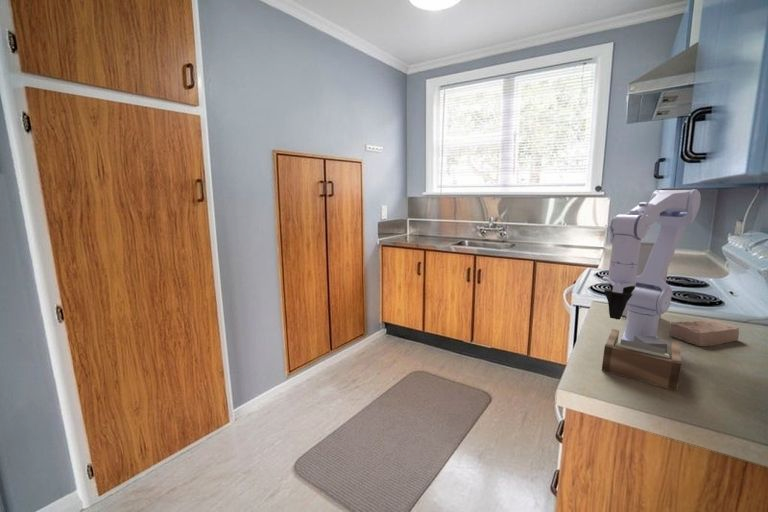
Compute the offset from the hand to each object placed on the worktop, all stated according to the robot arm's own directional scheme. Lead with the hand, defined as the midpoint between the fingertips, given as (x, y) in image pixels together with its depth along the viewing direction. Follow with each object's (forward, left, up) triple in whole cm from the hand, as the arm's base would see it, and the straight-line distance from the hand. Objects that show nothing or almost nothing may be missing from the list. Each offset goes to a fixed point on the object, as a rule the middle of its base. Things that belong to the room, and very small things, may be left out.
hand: (616, 314), depth 88 cm
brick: (-29, +19, -11) cm, 37 cm away
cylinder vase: (-41, +3, -11) cm, 43 cm away
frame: (+6, +6, -10) cm, 13 cm away
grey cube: (-2, +9, -8) cm, 12 cm away
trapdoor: (+5, +6, -7) cm, 11 cm away
